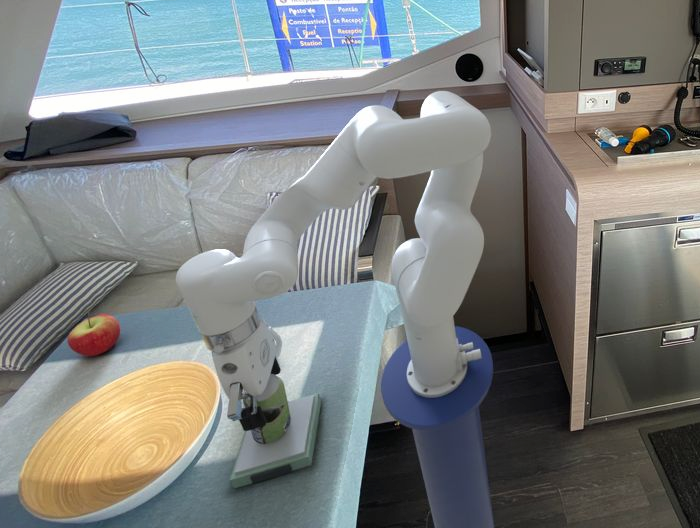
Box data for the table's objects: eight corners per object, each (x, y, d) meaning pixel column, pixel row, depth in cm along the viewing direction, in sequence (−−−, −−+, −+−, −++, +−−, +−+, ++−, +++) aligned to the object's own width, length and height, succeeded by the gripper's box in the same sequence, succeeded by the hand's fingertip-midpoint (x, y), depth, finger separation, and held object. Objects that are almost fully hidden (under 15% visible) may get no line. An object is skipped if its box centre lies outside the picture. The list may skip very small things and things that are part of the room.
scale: (321, 401, 82) (317, 390, 81) (311, 467, 71) (306, 456, 70) (254, 419, 79) (250, 409, 78) (233, 491, 68) (227, 480, 67)
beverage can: (267, 413, 77) (248, 367, 73) (305, 413, 77) (288, 367, 72) (246, 449, 71) (223, 402, 67) (287, 449, 71) (267, 402, 66)
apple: (134, 330, 102) (116, 299, 98) (112, 359, 94) (92, 326, 90) (95, 338, 100) (75, 306, 96) (69, 368, 92) (47, 335, 88)
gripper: (240, 365, 57) (275, 443, 64) (272, 282, 73) (297, 352, 79) (179, 380, 56) (221, 459, 62) (224, 292, 71) (254, 362, 78)
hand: (264, 399), depth 71 cm, fingers open, 9 cm apart
